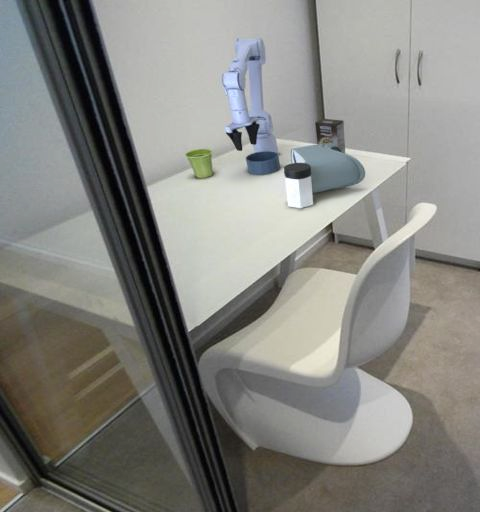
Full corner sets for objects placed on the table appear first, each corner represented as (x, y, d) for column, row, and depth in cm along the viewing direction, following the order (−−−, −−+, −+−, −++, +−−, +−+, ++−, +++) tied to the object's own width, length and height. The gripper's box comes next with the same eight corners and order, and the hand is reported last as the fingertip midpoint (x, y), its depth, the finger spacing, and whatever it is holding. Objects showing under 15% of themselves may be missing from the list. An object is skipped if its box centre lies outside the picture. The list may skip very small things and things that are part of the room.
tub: (262, 162, 174) (259, 149, 171) (286, 165, 169) (284, 153, 166) (241, 172, 165) (238, 159, 162) (266, 176, 160) (264, 163, 157)
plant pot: (221, 170, 166) (216, 148, 162) (211, 180, 158) (205, 157, 154) (198, 170, 167) (192, 148, 163) (186, 179, 159) (180, 157, 155)
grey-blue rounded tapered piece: (293, 179, 157) (288, 144, 150) (342, 169, 164) (339, 135, 157) (314, 201, 140) (309, 162, 133) (367, 188, 147) (365, 152, 140)
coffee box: (318, 163, 170) (314, 122, 161) (326, 158, 175) (322, 118, 166) (339, 166, 167) (335, 124, 158) (346, 161, 172) (343, 119, 163)
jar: (281, 205, 137) (277, 169, 130) (294, 196, 143) (291, 161, 137) (307, 210, 134) (303, 172, 128) (319, 200, 141) (316, 164, 135)
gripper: (233, 114, 144) (241, 154, 151) (261, 105, 155) (268, 142, 162) (217, 113, 147) (226, 152, 154) (246, 103, 158) (253, 140, 165)
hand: (246, 147), depth 158 cm, fingers open, 7 cm apart
